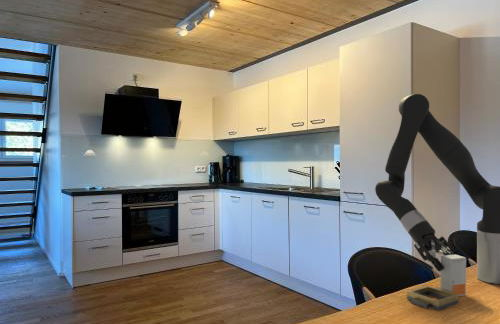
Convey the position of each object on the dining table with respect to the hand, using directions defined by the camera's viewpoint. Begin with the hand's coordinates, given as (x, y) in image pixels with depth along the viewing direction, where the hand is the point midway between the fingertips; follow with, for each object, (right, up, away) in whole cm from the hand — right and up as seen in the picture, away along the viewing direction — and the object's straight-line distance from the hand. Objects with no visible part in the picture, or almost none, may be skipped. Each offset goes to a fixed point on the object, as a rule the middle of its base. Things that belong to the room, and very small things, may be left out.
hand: (449, 268), depth 115 cm
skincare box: (+1, -8, -1) cm, 8 cm away
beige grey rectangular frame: (-9, -8, -7) cm, 14 cm away
